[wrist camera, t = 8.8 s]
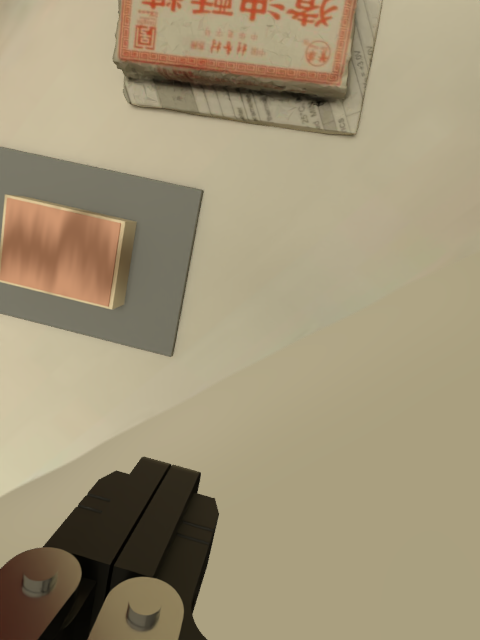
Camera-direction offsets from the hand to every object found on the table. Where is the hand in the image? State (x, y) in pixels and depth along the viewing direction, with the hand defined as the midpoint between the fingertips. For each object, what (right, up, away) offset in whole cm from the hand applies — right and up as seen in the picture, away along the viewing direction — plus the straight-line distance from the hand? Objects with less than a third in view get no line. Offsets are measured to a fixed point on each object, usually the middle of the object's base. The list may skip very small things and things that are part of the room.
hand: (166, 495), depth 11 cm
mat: (-11, +10, +27) cm, 31 cm away
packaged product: (+3, +24, +23) cm, 34 cm away
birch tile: (-7, +9, +25) cm, 28 cm away
